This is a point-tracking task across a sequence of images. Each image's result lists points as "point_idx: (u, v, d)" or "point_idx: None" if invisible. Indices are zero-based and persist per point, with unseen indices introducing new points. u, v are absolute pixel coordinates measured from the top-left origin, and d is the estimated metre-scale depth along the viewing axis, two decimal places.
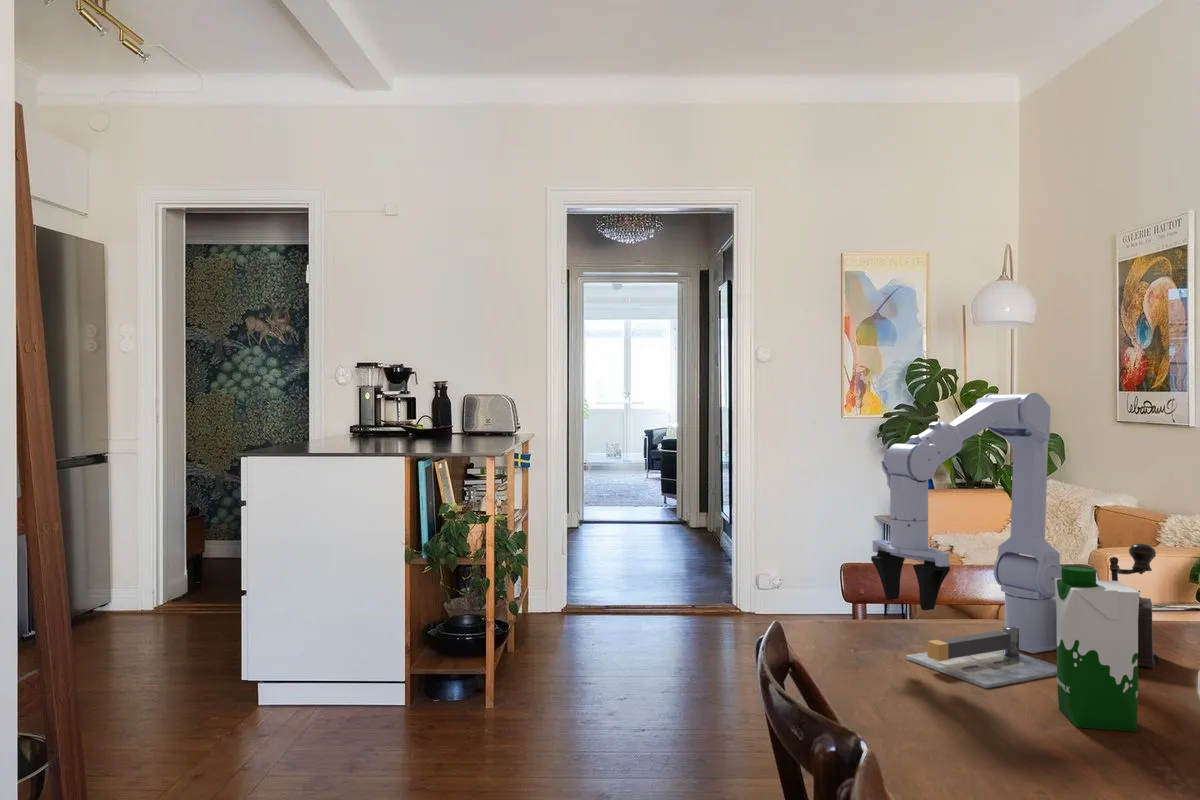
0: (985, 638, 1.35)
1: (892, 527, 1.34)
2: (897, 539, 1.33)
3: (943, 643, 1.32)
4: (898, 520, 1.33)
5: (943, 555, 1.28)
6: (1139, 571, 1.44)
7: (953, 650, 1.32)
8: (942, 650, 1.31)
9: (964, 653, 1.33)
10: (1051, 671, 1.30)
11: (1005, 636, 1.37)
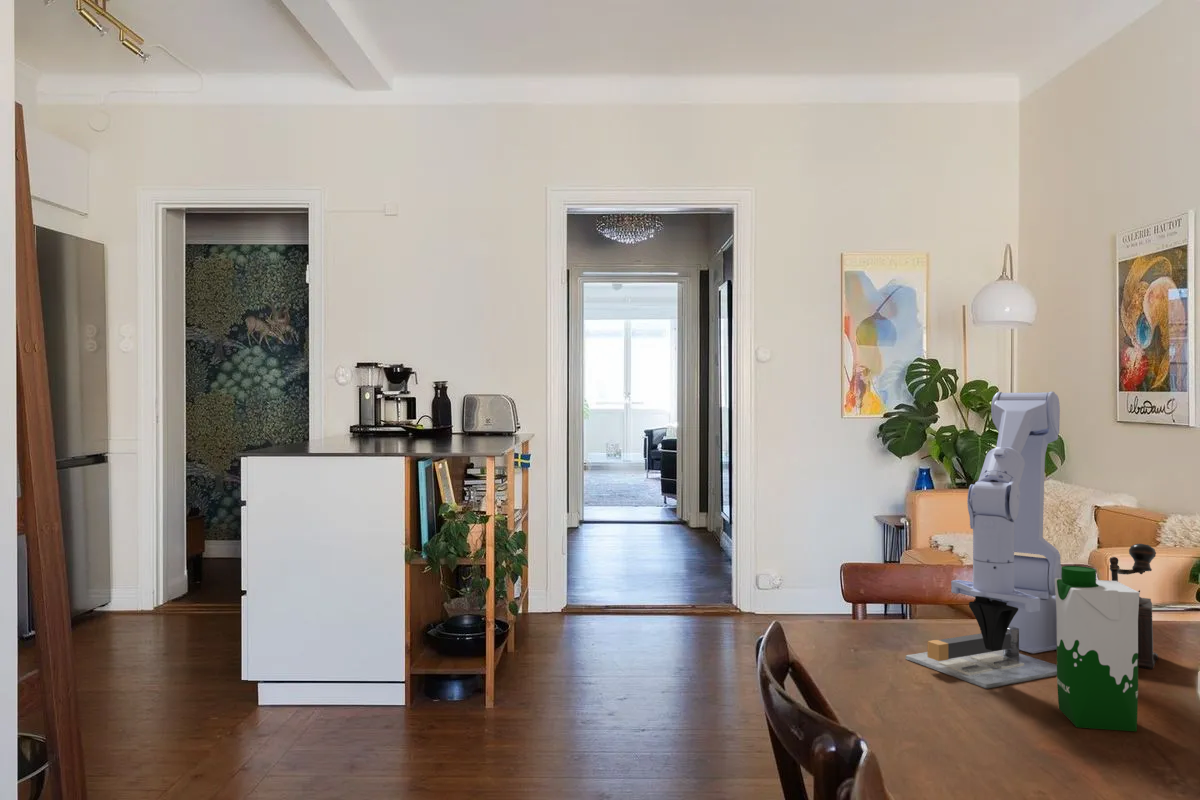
0: None
1: (976, 569, 1.29)
2: (982, 581, 1.28)
3: (943, 643, 1.32)
4: (983, 562, 1.27)
5: (1034, 600, 1.22)
6: (1139, 571, 1.44)
7: (953, 650, 1.32)
8: (942, 650, 1.31)
9: (964, 653, 1.33)
10: (1051, 671, 1.30)
11: (1005, 636, 1.37)
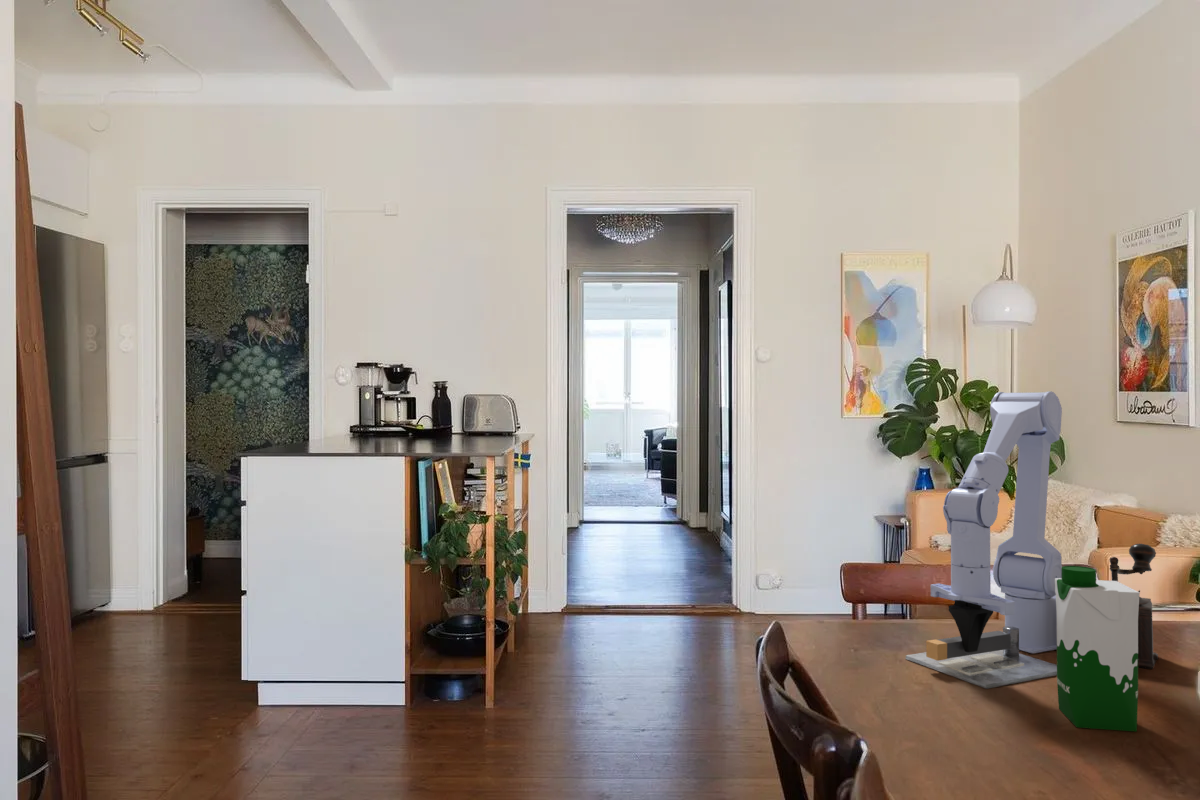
0: (984, 638, 1.35)
1: (953, 573, 1.33)
2: (959, 585, 1.31)
3: (942, 643, 1.32)
4: (960, 566, 1.31)
5: (1008, 604, 1.26)
6: (1139, 571, 1.44)
7: (952, 650, 1.32)
8: (941, 650, 1.31)
9: (963, 653, 1.33)
10: (1051, 671, 1.30)
11: (1005, 636, 1.37)
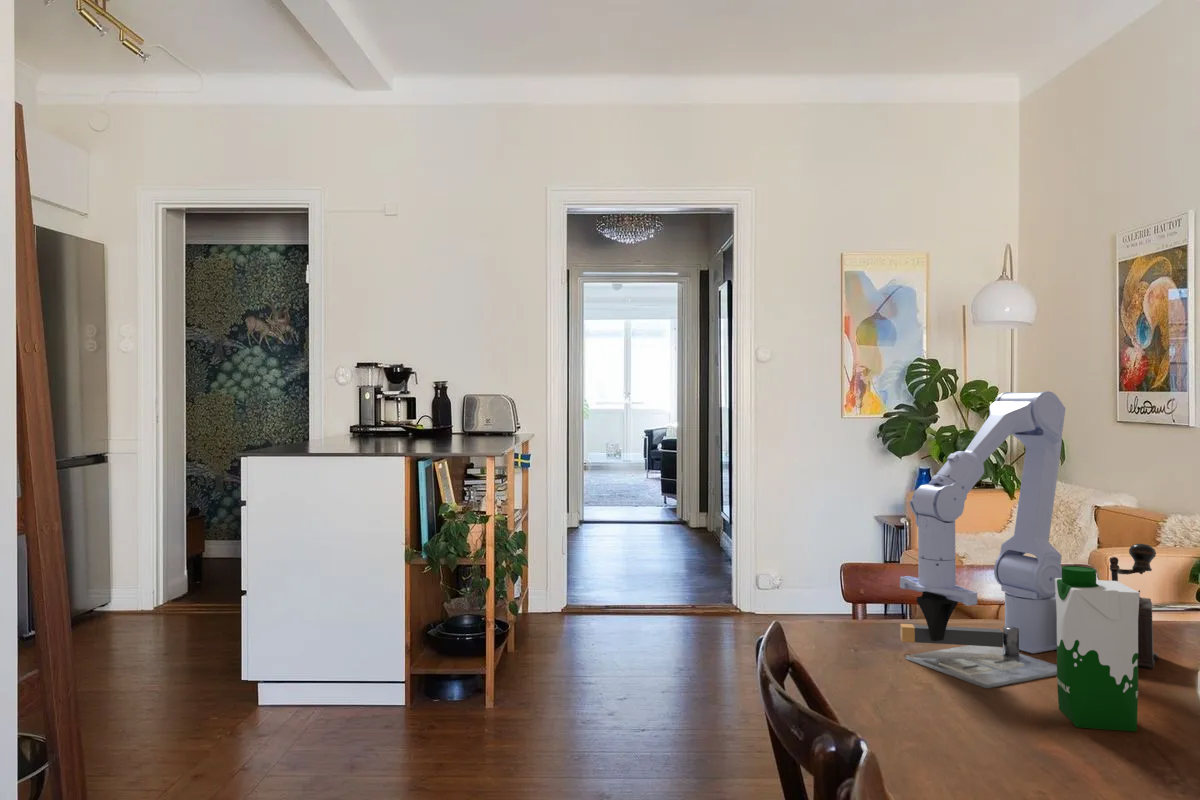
0: (966, 631, 1.39)
1: (920, 566, 1.39)
2: (926, 577, 1.38)
3: (910, 627, 1.42)
4: (926, 559, 1.38)
5: (971, 594, 1.33)
6: (1139, 571, 1.44)
7: (921, 635, 1.41)
8: (907, 633, 1.41)
9: None
10: (1051, 671, 1.30)
11: (995, 633, 1.39)
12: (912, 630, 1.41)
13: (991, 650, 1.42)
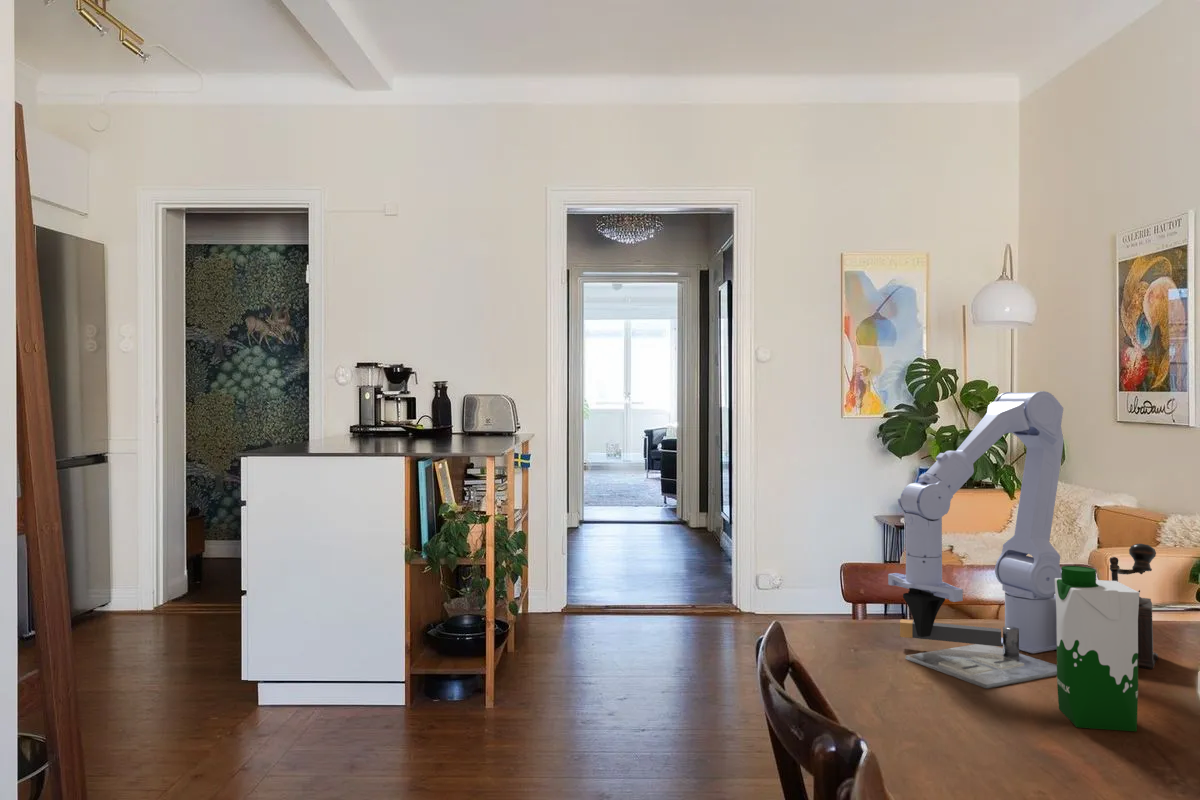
0: (964, 629, 1.41)
1: (908, 563, 1.41)
2: (912, 574, 1.40)
3: (908, 622, 1.44)
4: (913, 556, 1.40)
5: (957, 591, 1.35)
6: (1139, 571, 1.44)
7: None
8: (905, 628, 1.44)
9: (934, 637, 1.42)
10: (1051, 671, 1.30)
11: (993, 633, 1.39)
12: (910, 626, 1.44)
13: (991, 650, 1.42)
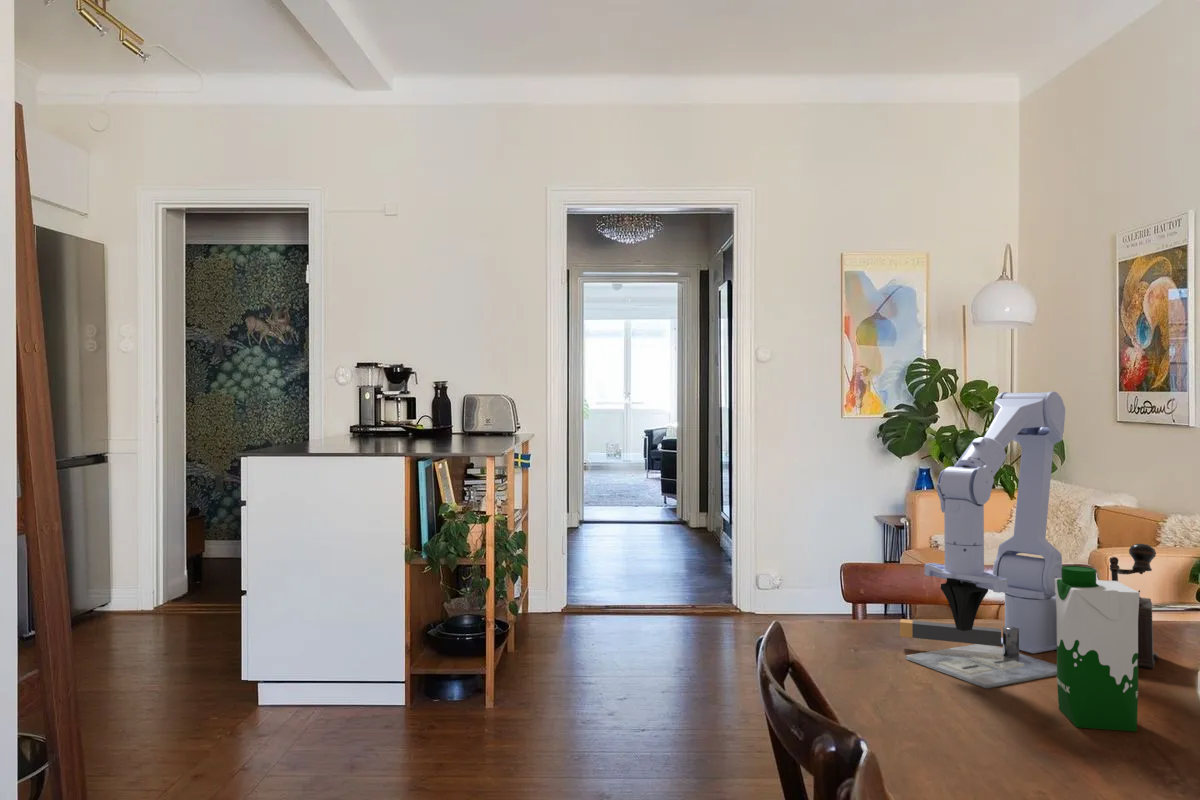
0: None
1: (947, 551, 1.33)
2: (952, 563, 1.31)
3: (908, 622, 1.44)
4: (953, 544, 1.31)
5: (1001, 581, 1.26)
6: (1139, 571, 1.44)
7: (919, 631, 1.43)
8: (905, 628, 1.44)
9: (934, 637, 1.43)
10: (1051, 671, 1.30)
11: (993, 633, 1.39)
12: (910, 626, 1.44)
13: (991, 650, 1.42)
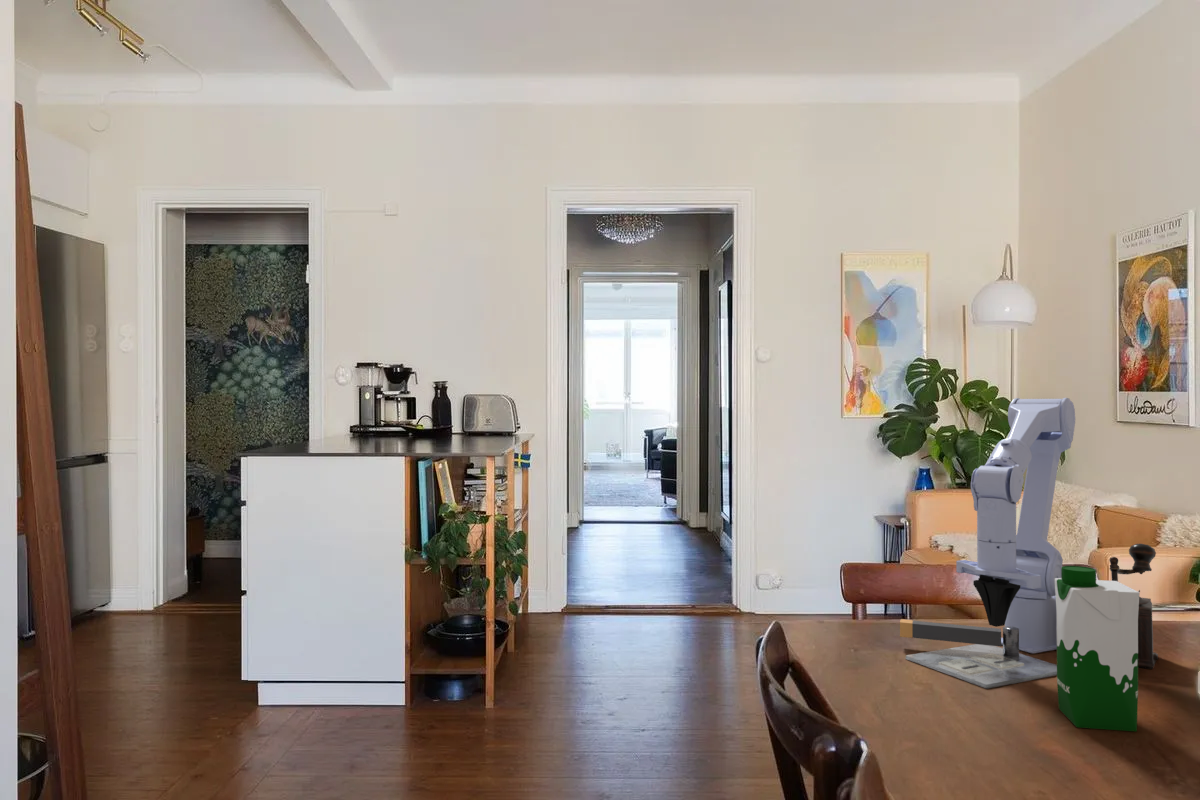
0: (964, 629, 1.41)
1: (980, 549, 1.35)
2: (986, 560, 1.34)
3: (908, 622, 1.44)
4: (987, 542, 1.34)
5: (1035, 577, 1.29)
6: (1139, 571, 1.44)
7: (919, 631, 1.43)
8: (905, 628, 1.44)
9: (934, 637, 1.43)
10: (1051, 671, 1.30)
11: (993, 633, 1.39)
12: (910, 626, 1.44)
13: (991, 650, 1.42)
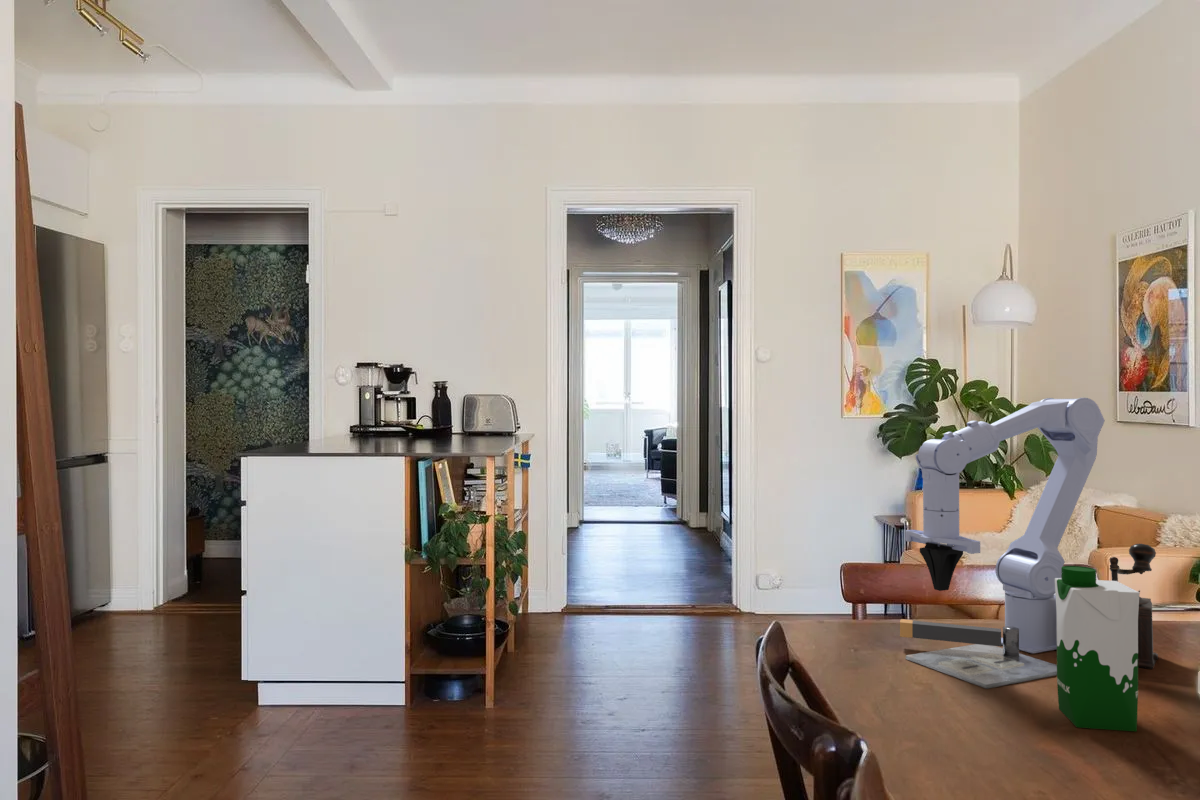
0: (964, 629, 1.41)
1: (925, 517, 1.43)
2: (930, 528, 1.42)
3: (908, 622, 1.44)
4: (931, 511, 1.42)
5: (974, 543, 1.37)
6: (1139, 571, 1.44)
7: (919, 631, 1.43)
8: (905, 628, 1.44)
9: (934, 637, 1.43)
10: (1051, 671, 1.30)
11: (993, 633, 1.39)
12: (910, 626, 1.44)
13: (991, 650, 1.42)
